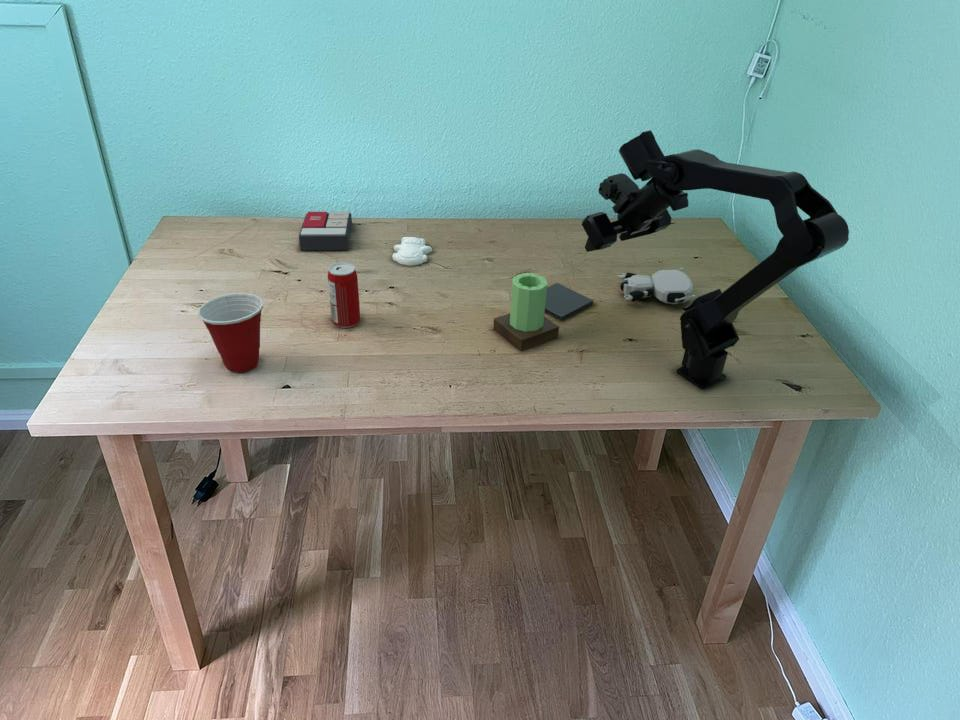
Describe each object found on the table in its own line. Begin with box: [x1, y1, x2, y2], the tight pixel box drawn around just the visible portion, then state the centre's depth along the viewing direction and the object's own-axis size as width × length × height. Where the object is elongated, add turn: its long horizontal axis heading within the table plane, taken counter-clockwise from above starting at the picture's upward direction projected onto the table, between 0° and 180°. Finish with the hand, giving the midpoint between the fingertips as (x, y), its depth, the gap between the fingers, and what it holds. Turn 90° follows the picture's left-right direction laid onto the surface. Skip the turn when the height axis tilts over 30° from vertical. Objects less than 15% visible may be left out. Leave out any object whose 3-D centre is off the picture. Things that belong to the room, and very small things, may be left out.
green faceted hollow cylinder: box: [509, 272, 548, 332], centre depth 134 cm, size 6×7×9 cm
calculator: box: [298, 211, 353, 251], centre depth 169 cm, size 11×4×15 cm
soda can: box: [327, 261, 361, 329], centre depth 136 cm, size 6×6×12 cm
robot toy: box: [617, 267, 696, 305], centre depth 150 cm, size 12×4×15 cm
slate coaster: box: [544, 282, 594, 322], centre depth 148 cm, size 10×10×1 cm
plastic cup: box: [197, 292, 264, 374], centre depth 123 cm, size 11×11×12 cm
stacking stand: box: [492, 312, 560, 352], centre depth 136 cm, size 9×9×7 cm
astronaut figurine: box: [391, 236, 433, 267], centre depth 163 cm, size 9×12×3 cm
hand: (603, 244), depth 138 cm, fingers open, 9 cm apart
